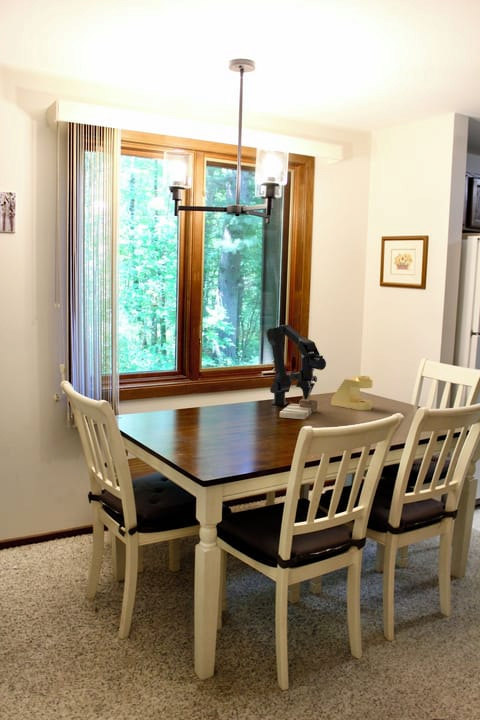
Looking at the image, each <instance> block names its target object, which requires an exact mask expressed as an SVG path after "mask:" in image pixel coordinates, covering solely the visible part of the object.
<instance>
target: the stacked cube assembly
mask: <svg viewBox="0 0 480 720" xmlns="http://www.w3.org/2000/svg"><path fill="white" fill-rule="evenodd" d="M298 404H299V407H312V413H315V412H317V410H318V400H316V399H315V400H314V399H311V393H310V392H309V395H308V398H307V399H304V395H303V394H302V398H301V399H300V400H299V402H298Z"/></svg>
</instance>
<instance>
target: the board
mask: <svg viewBox="0 0 480 720" xmlns="http://www.w3.org/2000/svg"><path fill="white" fill-rule="evenodd" d="M312 413H313V412H312V407H299V403H289V404H288V405H287V406H286V407H284V408H283V409H282V410H281V411H279V418H283V419H286V418H287V419H294V420H295V419H296V420H298V419H299V420H306V418H308V417H309V416H310V415H311V414H312Z"/></svg>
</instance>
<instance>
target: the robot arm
mask: <svg viewBox="0 0 480 720" xmlns="http://www.w3.org/2000/svg"><path fill="white" fill-rule="evenodd" d="M285 336H286V337H287V338H288V340H289V339H290V341H292V342H293V343H294V344H295V345H296V347H297V350H298V351H299V352H300V354H299V355H298V357H299V358H300V360H301V362H300V363H301V367H300V369H299V371H298V372H291V373H289V374H288V373H287V372H286V367H285V359H284V352H283V351H284V350H283V345H282V344H283V342H284V340H285ZM266 337H267V341H268V342H269V344H270V345H271V346H272V347H271V349H272V355H273V363H274V369H275V375H274V377H273V384H272V385H271V386H270V388H269V390H270V391H269V392H270V393H272V394H274V395H273V396H274V397H273V402H272V403H271V405H273V406H286V405H287V404H288V402H287V401H286V393H289V392H290V389H291V385H292V382H294V381H296V380H298V381H297V382H296V383H295V385H296V386H295V388H299V389H301V391H302V396H303V395H304V399H307V398H308V395H309V392H310V394H311V393H312V391H313V389H314V388H315V387H314V386H315V385H316V383H317V382H318V377H317V375H314V372H315V370H318V371H322V370H324V369H325V368H326V366H327V362H326V359H325V358H324V355H321V354H320V351H319V349H318V348H317V346H316V343H315V342H314V341H313V340H311V339H309V338H305V337H303V335H301V334H300V333H298V332H297V331H296V329H294V328H292V326H291V325H289V324H282V325H279V326H276V327H272V328H271V327H270V328H269V329H267V332H266ZM314 382H315V383H314Z"/></svg>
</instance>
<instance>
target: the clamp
mask: <svg viewBox="0 0 480 720" xmlns="http://www.w3.org/2000/svg"><path fill="white" fill-rule="evenodd" d="M371 388H373V379H371V376H368V375H357V376H353V377H349V378H345V379H344V380H343V381H342V382H341V384H340V386H339V387H338V388H337V390H336V392H335V393H334V394H333V396H332V397H331V403H330V404H331V406H334V405H335V406H336V407H341V408H346V409H351V408H352V409H351V410H358V411H371V410H372V406H373V405H372V404H373V402H372V400H369V399H363V398H362V399H361V398H360V392H361V391H360V390H361V389H371Z"/></svg>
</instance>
